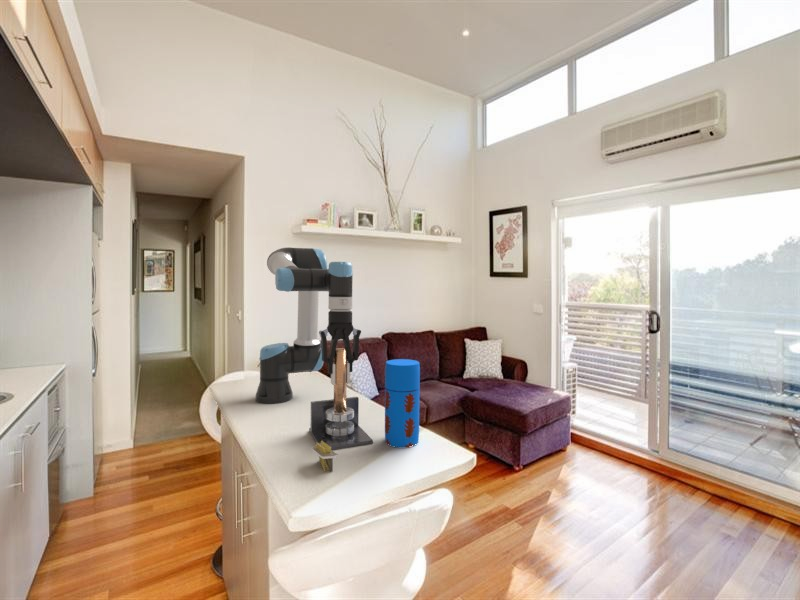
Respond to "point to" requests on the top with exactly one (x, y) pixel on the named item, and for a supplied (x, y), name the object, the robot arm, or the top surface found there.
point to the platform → (325, 455)
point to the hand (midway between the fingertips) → (340, 383)
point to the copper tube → (340, 380)
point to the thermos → (402, 402)
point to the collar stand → (337, 424)
